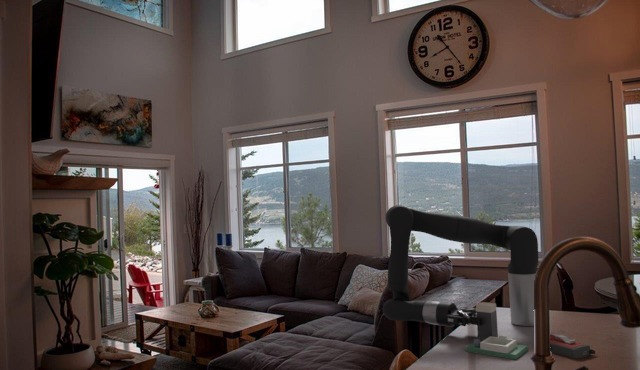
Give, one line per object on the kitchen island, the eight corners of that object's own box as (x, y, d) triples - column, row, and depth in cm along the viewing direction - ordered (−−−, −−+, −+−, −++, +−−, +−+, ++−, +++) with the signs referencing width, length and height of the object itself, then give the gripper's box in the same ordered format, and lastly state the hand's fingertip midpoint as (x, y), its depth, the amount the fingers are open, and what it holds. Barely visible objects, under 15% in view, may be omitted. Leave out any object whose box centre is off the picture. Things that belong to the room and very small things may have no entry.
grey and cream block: (483, 337, 154) (481, 302, 155) (498, 339, 151) (495, 303, 152) (478, 340, 151) (475, 304, 151) (492, 343, 148) (490, 306, 148)
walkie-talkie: (601, 356, 133) (539, 339, 151) (600, 339, 133) (538, 324, 151) (579, 361, 129) (518, 343, 147) (578, 344, 129) (518, 328, 147)
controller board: (479, 342, 149) (479, 330, 149) (527, 349, 140) (527, 336, 140) (466, 351, 141) (465, 337, 141) (515, 359, 132) (515, 345, 132)
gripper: (429, 305, 156) (478, 311, 146) (448, 298, 167) (496, 302, 157) (430, 329, 156) (480, 336, 145) (450, 320, 167) (497, 326, 156)
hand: (488, 318), depth 151 cm, fingers open, 8 cm apart
